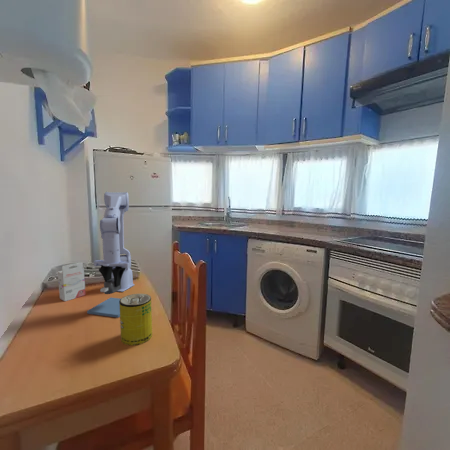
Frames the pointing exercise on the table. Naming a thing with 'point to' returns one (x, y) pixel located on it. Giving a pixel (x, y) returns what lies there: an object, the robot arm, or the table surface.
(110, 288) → the dark grey rounded block
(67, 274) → the ink cartridge box
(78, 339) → the table surface
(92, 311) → the blue-grey mat
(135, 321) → the beverage can
